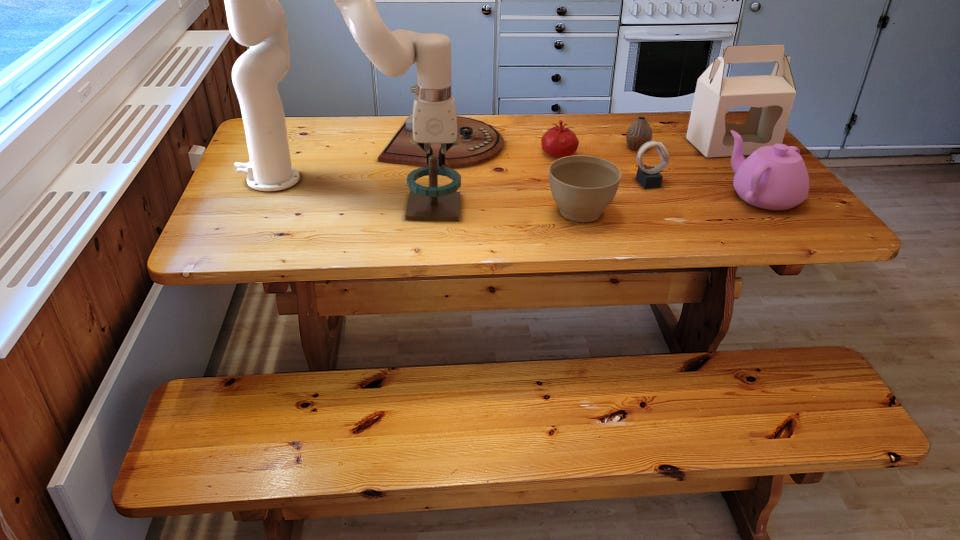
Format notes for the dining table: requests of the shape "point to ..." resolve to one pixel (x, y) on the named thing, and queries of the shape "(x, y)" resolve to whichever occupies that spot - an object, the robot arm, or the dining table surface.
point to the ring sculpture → (651, 175)
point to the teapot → (770, 175)
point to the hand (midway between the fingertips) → (436, 166)
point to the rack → (433, 201)
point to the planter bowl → (583, 186)
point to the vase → (638, 133)
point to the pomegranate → (559, 141)
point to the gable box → (742, 102)
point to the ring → (434, 190)
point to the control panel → (473, 150)
